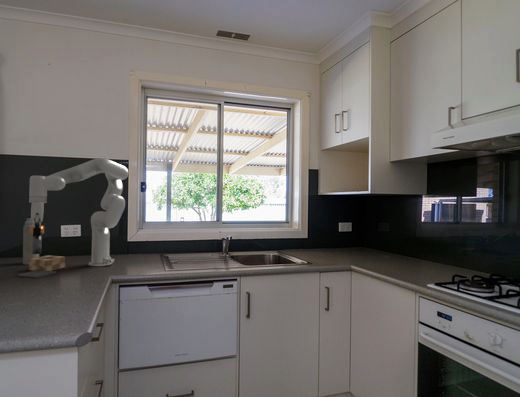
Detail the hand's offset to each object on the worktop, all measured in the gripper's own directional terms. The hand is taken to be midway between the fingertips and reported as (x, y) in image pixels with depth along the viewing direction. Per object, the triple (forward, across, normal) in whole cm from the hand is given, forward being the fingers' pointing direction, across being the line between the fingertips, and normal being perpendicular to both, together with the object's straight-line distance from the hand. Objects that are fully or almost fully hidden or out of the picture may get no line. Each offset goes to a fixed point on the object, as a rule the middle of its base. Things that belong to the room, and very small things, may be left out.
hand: (37, 234), depth 174 cm
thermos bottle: (+21, -36, -4) cm, 41 cm away
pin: (+10, 0, 0) cm, 10 cm away
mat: (+21, 0, 0) cm, 21 cm away
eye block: (+20, -14, +5) cm, 25 cm away
